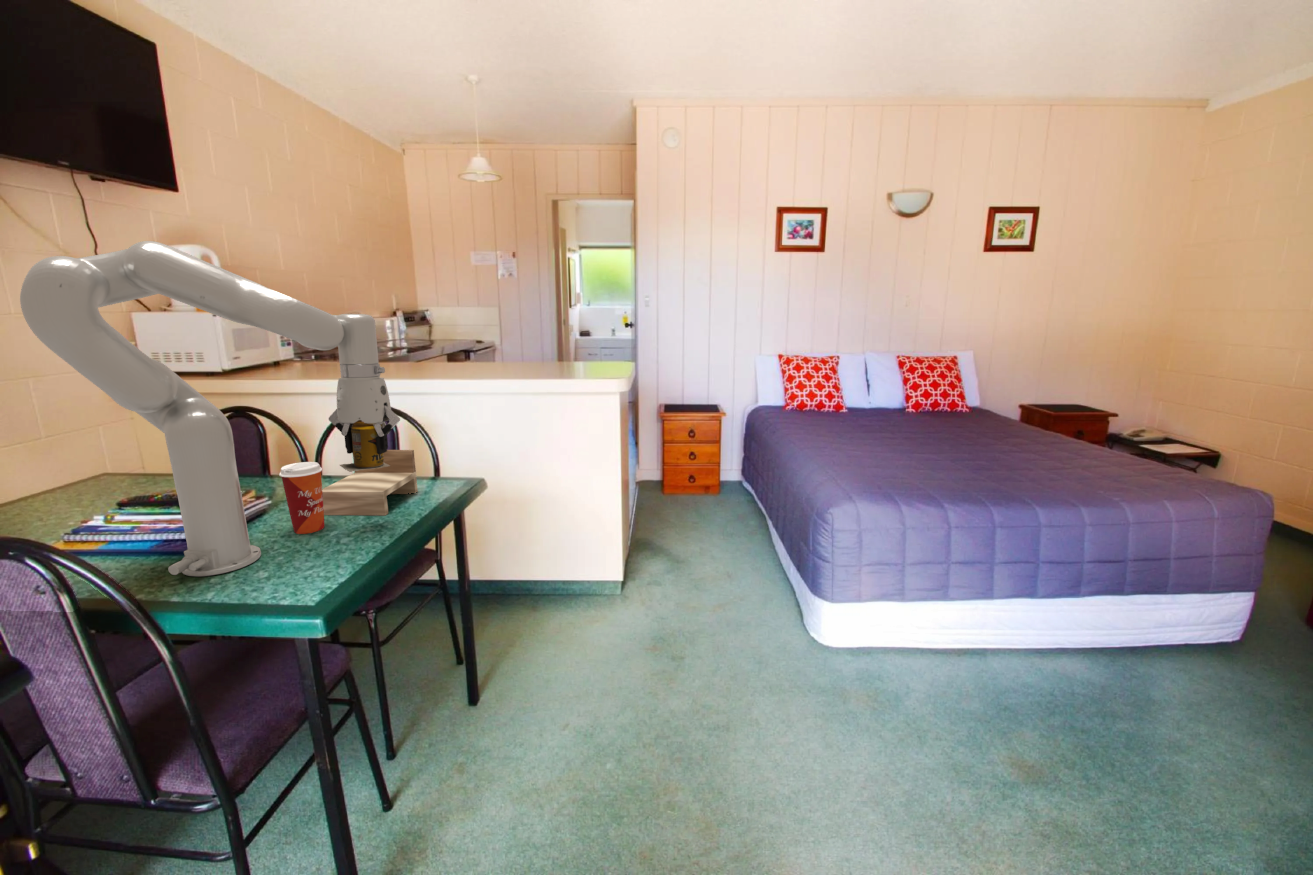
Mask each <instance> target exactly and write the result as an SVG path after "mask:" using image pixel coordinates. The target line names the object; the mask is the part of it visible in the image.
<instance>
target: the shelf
mask: <svg viewBox="0 0 1313 875" xmlns="http://www.w3.org/2000/svg"><path fill="white" fill-rule="evenodd" d="M383 457H384V463H385V464H388V465H390V466H388V467H382V468H375V469H365V470H358V471H354V473H351V474H349V475H347V476H345V477H344V478H342V479H339V480H337V481H336V482H334V483H332V484H329V485H327V486H326V487H323V488H322V493H323V508H324V516H387V515H388V514H389V506H388V499H387V496H388V495H412V494H411V493H416V492H418V493H419V490H418V479H417V469H416V460H415V450H414V449H387V452H385V453H383ZM352 458H353V461H354V456H353V455H352ZM408 493H409V494H408ZM416 494H417V493H416Z"/></svg>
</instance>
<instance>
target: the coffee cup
mask: <svg viewBox="0 0 1313 875" xmlns="http://www.w3.org/2000/svg"><path fill="white" fill-rule="evenodd" d="M322 471H323V467H321V465H320V464H319V462H316V461H302V462H301V461H300V462H294V463H290V464H285V465H283V466H281V468H280V472H279V474H278V475H279V477H281V480H282V484H283V485H282V486H283V489H284V494H285V499H286V503H287V507H288V512H289V516H290V520H291V525H292V529H293V532H294V533H295V534H297V535H307V534H312V533H315V532H320V531H322V530H323V529H324V528H325V515H324V508H323V493H322V489H323V483H322V482H323V481H322Z"/></svg>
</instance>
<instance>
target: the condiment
mask: <svg viewBox="0 0 1313 875" xmlns="http://www.w3.org/2000/svg"><path fill="white" fill-rule="evenodd" d="M359 419H360V418H359ZM351 433H352V445H353V453H352V457H353V456H354V460H353V463H352V462H351V463H343V464H339V466H340V467H341V468H342V469H343V470H345V471H347V472H349V473H350V472H355V471H358V470H365V469H375V468H382V467H388V466H390V465H388V464H385V463H384V457H383V454H377V446H376V437H377V436H378V433H377V431H376V429H375V427H374V425H373V424H367V423H364V422H362V420H358V421H356V422H355V423H354V424H353V425H352V427H351Z"/></svg>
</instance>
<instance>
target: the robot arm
mask: <svg viewBox="0 0 1313 875" xmlns="http://www.w3.org/2000/svg"><path fill="white" fill-rule="evenodd" d="M158 294H159V295H160V296H164V297H167V298H169V299H171V300H175V301H177V302H180V303H182V304H185V305H189V306H191V307H193V308H196V309H198V310H201V311H205V312H207V313H209V314H212V315H214V316H217V317H219V318H222V319H225V320H229V321H232V322H234V323H237V324H241V325H246V326H251V327H254V328H258V329H262V330H265V331H268V332H271V333H274V334H276V335H278V336H282V337H285V338H287V339H289V340H293V341H294V342H298V344H300V345H301V346H303V347H305V348H308V349H311V350H318V351H330V350H333V349H335V348H338V349H337V350H338V360H339V361H338V362H339V370H340V377H339V378H338V379H337V380H338V381H337V388H336V409H335V410H334V411H333V412H332V413H331V414H330V415H329V417H328V421H329V422H330V423H331V424H332V425H333V426H335V428H336V429H337V430H338V431H339V432H340V433H341V435H342V436H344V445H345V446H344V447H345V449H346V453H347V454H350V455H351V454H353V445H352V433H351V427H352V425H353V424H354V423H355V422H356V421H358V420H362V422H364V423H367V424H373V425H374V427H375V429H376V431H377V433H378V436H377V437H376V446H377V454H383V453H385V452H387V450H389V449H388V448H389V442H388V441H389V440H388V435H389V434H390V433H391V431H392V430H393V429H394V428H395V427H396V425H398V423H400V421H401V418H400V417H399V416H398V415H397V414H396V413H395V412H394V411H393V410H392V408H391V407H392V406H391V402H390V401H391V400H390V394H389V391H388V387H387V382H386V380H385V377H381V375H382V374H385V372H386V368H385V367H384V366H383V367H382V366H380V363H379V351H378V340H377V338H378V337H377V329H376V327H377V326H376V320H375V318H374V317H373V316H372V315H370V314H367V313H366V314H365V313H342V314H337V315H336V314H331V313H329V312H327V311H325V310H323V309H320V308H318V307H316V306H313V305H311V304H308V303H306V302H303V301H301V300H299V299H296V298H294V297H291V296H289V295H287V294H284V293H281V292H279V291H276V290H275V289H271V288H269V287H266V286H264V285H262V284H260V283H258V282H256V281H253V280H251V279H248V278H246V277H243V276H242V275H239V274H237V273H233V272H232V271H230V270H227V269H224V268H222V267H220V266H217V265H215V264H212V263H211V262H208V261H205V260H204V259H201V258H198V257H197V256H195V255H192V254H189V253H186V252H184V251H182V250H179V249H178V248H175V247H172V246H171V245H168V244H165V243H163V242H159V241H154V240H143V241H138V242H136V243H134V244H132V245H130V246H129V248H125V249H121V250H117V251H111V252H107V253H100V254H96V255H89V256H83V257H72V256H66V255H56V256H49V257H45V258H43V259H41V260H39V261H37V262H36V263H35V264H33V266H32V267H31V268H30V269H29V270H28V272H27V274H26V275H25V278H24V280H23V283H22V285H21V290H20V294H19V302H20V308H21V312H22V315H23V316H22V317H23V318H24V321H25V322H26V324H27V325H28V327H29V329H30V330H31V332H32V333H33V334H34V335H35V336H36V338H37V339H38V340H39V341H40V342H41V343H42V344H43V345H44V346H45V347H46V348H48V350H50V351H51V352H52V353H53V354H55V355H56V356H58V357H59V358H60V359H61V360H63V361H64V362H66V363H67V365H69V366H70V367H72V368H73V369H74V370H75V371H77V372H78V373H79V374H80V375H81V376H83V377H84V378H85V379H86V380H88V381H89V382H91V383H92V384H93V385H95V387H97V388H99V390H101V391H102V392H104V393H105V394H106V395H107V396H108V397H110V398H111V399H112V400H113V401H114V402H115V403H116V404H117V405H118V406H120V407H122V408H124V409H126V410H128V411H131V412H135V413H137V414H138V415H139V416H141V417H142V418H143V419H144V420H146V421H147V422H149V423H150V424H151V425H152V426H154V427H155V428H157V430H159V431H161V432H162V433H163V434H164V438H165V443H166V447H167V452H168V456H169V462H170V466H171V471H172V477H173V481H174V487H175V491H176V494H177V499H178V505H179V506H178V507H179V511H180V515H181V520H182V526H183V530H184V535H185V540H186V545H187V549H186V550H184V551H183V554H184V556H183V557H182V559H181V560H180V561H177V562H175V563H173V564H171V565H170V566H168V568H167V569H168V573H170V574H171V575H173V576H177V575H179V574H180V573H182V574H183V575H184V576H185V575H186V576H189V577H210V576H215V575H216V576H217V575H221V574H225V573H230V572H232V571H236V570H239V569H242V568H245V567H247V566H248V565H251V564H253V563H255V562H256V561H258V560H259V559H260V557H261V556H262V551H261V548H260V546H257V545H253V544H251V542H250V537H249V531H248V524H247V520H246V519H247V518H246V514H245V507H244V502H243V495H242V490H241V483H240V480H239V473H238V467H237V461H236V453H235V452H236V451H235V442H234V435H233V430H232V426H231V424H230V421H229V419H228V418H227V417H226V415H225V414H224V413H223V412H222V411H221V410H220V409H219V408H218V407H217V406H216V405H215V404H213V403H212V402H211V401H209V400H208V399H207V398H206V397H205V396H203V394H201V393H200V392H199V391H197V390H196V389H195V388H194V387H192V386H191V385H190V383H188V382H187V381H185V380H184V379H183V378H181V377H180V376H179V375H178V374H177V373H176V372H175V371H174V370H172V369H171V368H170V367H168V366H167V365H166V364H165V363H162V362H161V361H158V360H156V359H154V358H151V357H150V356H148V355H147V354H145V353H144V352H143V351H142V350H140V349H139V348H138V347H137V346H135V345H134V344H133V343H132V342H130V341H129V340H128V339H127V338H126V337H125V336H124V335H123V334H122V333H120V332H119V331H118V330H117V329H115V327H113V326H112V325H111V324H110V323H108V321H106V319H104V318H103V316H102V315H101V312H100V311H99V308H102V307H107V306H112V305H115V304H119V303H125V302H130V301H135V300H139V299H142V298H149V297H151V296H155V295H158ZM359 418H360V419H359ZM388 421H389V422H388ZM386 422H388V423H387V424H386Z"/></svg>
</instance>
